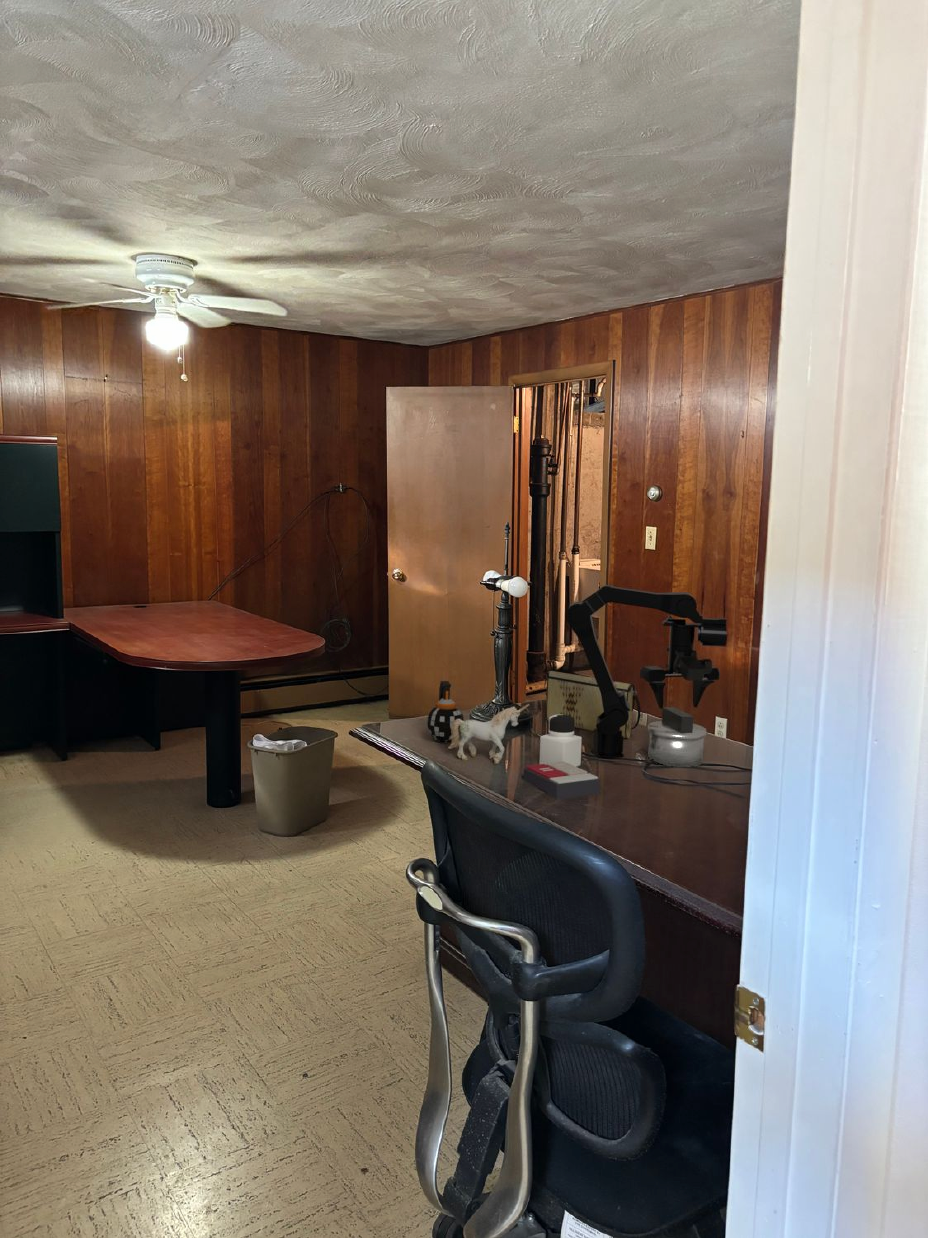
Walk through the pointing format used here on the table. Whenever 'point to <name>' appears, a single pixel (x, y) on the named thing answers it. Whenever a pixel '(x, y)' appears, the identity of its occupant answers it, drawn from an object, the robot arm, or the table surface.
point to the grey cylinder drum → (676, 751)
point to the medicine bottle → (560, 742)
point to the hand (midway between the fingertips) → (678, 707)
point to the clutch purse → (583, 700)
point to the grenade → (443, 715)
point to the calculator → (562, 780)
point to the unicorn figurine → (483, 732)
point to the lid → (676, 725)
